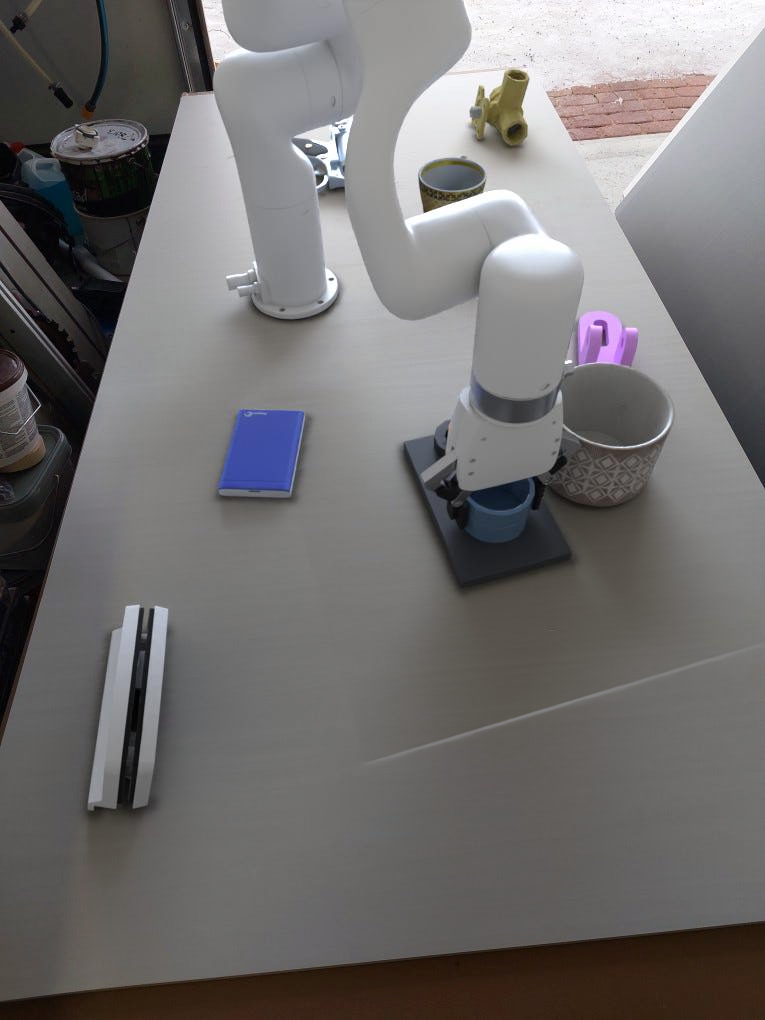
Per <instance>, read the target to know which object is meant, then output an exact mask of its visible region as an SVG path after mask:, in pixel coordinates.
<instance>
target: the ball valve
mask: <svg viewBox="0 0 765 1020" xmlns="http://www.w3.org/2000/svg"><path fill="white" fill-rule="evenodd" d="M529 82H530V76H529V74H528V72H526V71H524V70H521V69H517V68H516V69H515V68H509V69H507V70H505V71H504V73H503V77H502V82H501V85H499V86H497V87H494V88H493V89H492V91H491V93H490V94H489V95H488V96H489V97H486V93H485V87H484V85H480V84H479V85H478V89H477V93H476V98H475V102H474V105H472V106H470V109H469V118H471V126H472V127H475V136H476V138H477V140H482V139H483V137H484V132H485V127H486V124H487V123H488V124H489V126H493V127H495V128H496V130H497V131H498V132H500V135H501V137H502V140H503V142H505V143H506V144H507V145H508V146H509V147H512V146H513V147H514V146H518V145H521V144H522V142H523V141H525V139H526V138H527V137H528V132H529V131H528V129H529V128H528V127H529V125H528V123H527V121H526V119H525V117H524V110H523V103H524V99H525V96H526V92H527V90H528V86H529Z"/></svg>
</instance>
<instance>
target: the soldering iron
mask: <svg viewBox="0 0 765 1020" xmlns="http://www.w3.org/2000/svg"><path fill="white" fill-rule="evenodd" d="M352 119H353V117H352V118H351V117H349V118H348V119H345V120H342V121H340V122H337V123H334V124H330V125H329V137H330V141H329V142H326V141H320V140H315V139H309V138H302V137H294V138H293V139H292V144H294V145H295V146H296V147H297V148H298V149H300V150H301V151H302V152H303V153H304V154H305V155H306V156H307V158H308V159H309V160H310V162H311V164H312V166H313V169H314V172H315V177H317V176H321V177H323V181H322V182H321V183H320V184H319V185H316V186H317V193H320V192H322V191H324V190H325V189H326V188H327V187H329V190H334V189H337V188H342V187H343V188H345V178H344V171H345V154H346V146H347V139H348V134H349V130H350V126H351V122H352ZM347 120H348V121H347Z"/></svg>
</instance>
